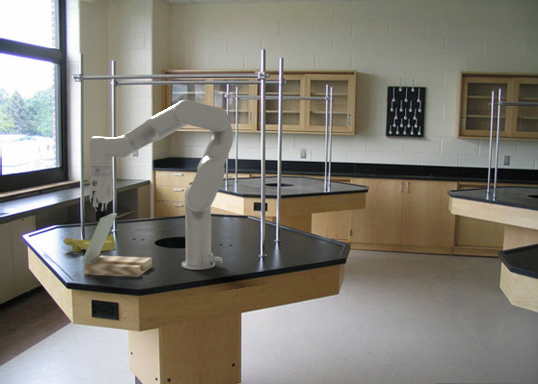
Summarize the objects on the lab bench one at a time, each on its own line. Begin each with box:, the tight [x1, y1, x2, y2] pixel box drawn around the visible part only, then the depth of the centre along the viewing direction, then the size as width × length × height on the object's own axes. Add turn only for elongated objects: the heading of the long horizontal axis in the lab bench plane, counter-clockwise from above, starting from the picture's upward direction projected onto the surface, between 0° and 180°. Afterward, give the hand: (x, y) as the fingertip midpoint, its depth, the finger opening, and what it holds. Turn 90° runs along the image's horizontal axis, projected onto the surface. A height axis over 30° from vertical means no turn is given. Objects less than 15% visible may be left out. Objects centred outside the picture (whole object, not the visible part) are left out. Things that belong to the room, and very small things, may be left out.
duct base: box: [83, 255, 153, 278], centre depth 199 cm, size 20×14×4 cm
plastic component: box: [63, 234, 117, 253], centre depth 230 cm, size 20×7×10 cm
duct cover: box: [81, 212, 118, 264], centre depth 198 cm, size 18×12×1 cm
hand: (101, 221), depth 197 cm, fingers closed
